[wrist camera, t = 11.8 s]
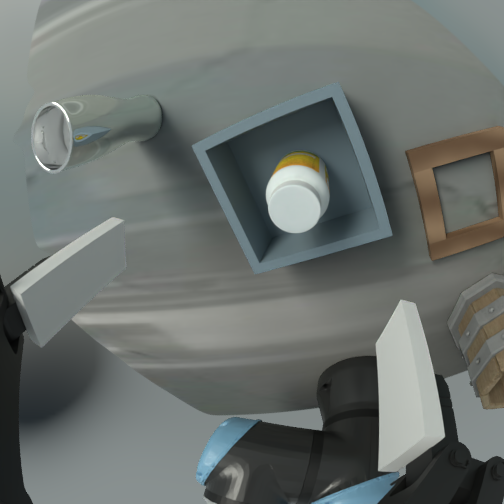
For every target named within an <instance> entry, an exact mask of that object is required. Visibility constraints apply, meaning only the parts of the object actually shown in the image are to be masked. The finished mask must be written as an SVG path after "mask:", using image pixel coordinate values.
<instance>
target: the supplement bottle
mask: <svg viewBox="0 0 504 504" xmlns="http://www.w3.org/2000/svg"><path fill="white" fill-rule="evenodd" d="M329 198H330V193H329V177H328V170H327V167H326V165H325V163H324V161H323V160H322V159H321V158H320V157H319V156H318V155H316V154H315V153H313V152H310V151H305V150H296V151H292V152H290V153H288V154H286V155H285V156H284V157H283V158H282V159H281V160H280V162H279V163H278V165H277V167H276V169H275V171H274V173H273V175H272V177H271V179H270V180H269V182H268V185H267V189H266V200H267V204H268V211H269V215H270V218H271V220H272V221H273V223H274V224H275V225H276V226H277V227H278V228H280V229H281V230H283V231H286V232H289V233H303V232H306V231H308V230H310V229H311V228H313V227H314V226H315V225H316V223H317V222H318V220H319V218H321V216H322V215H323V214H324V213H325V211H326V209H327V207H328V204H329Z"/></svg>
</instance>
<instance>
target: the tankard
mask: <svg viewBox="0 0 504 504" xmlns="http://www.w3.org/2000/svg"><path fill="white" fill-rule="evenodd" d="M447 324H448V327H449V329H450V332H451V334H452V336H453V339H454V341H455V344H456V346H457V348H458V349H461V350H462V353H463V355H462V359H465V361H466V363H467V366H468V368H467V369H468V372H469V376H470V379H471V382H470V385H471V386H473V388H474V391H475V395H476V397H480V398H481V402H482V406H483V408H484V409H497V408H504V276H503V275H499V274H494V273H491V274H489V275H488V276H486V277H485V278H483V279H482V280H480V281H479V282H477V283H476V284H474V285H473V286H471V287H470V288H468V289H466V290H465V291H463V292H462V293H461V295H460V297H459V299H458V301H457V303H456V305H455V307H454V310H453V312H452V314H451V316H450V317H449V319H448V321H447Z"/></svg>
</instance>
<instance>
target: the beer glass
mask: <svg viewBox="0 0 504 504" xmlns="http://www.w3.org/2000/svg"><path fill="white" fill-rule="evenodd" d="M161 123H162V111H161V107H160V105H159V103H158V102H157V101H156V100H155V99H154V98H153V97H151V96H148V95H137V96H134V97H131V98H128V99H120V98H115V97H109V96H102V95H81V96H75V97H70V98H65V99H61V100H58V101H54V102H48V103H46V104H44V105H43V106H42V107H41V108H40V109H39V110H38V112H37V113H36V115H35V118H34V121H33V124H32V130H31V142H32V148H33V152H34V155H35V158H36V160H37V162H38V163H39V165H40V166H41V167H42V168H43V169H44V170H45V171H47V172H49V173H53V174H54V173H59V172H61V171H64V170H68V169H71V168H75V167H79V166H82V165H85V164H88V163H90V162H93V161H95V160H98V159H100V158H102V157H103V156H105V155H107V154H109V153H111V152H112V151H114V150H116V149H117V148H119V147H120V146H122V145H124V144H126V143H128V142H131V141H146V140H149V139H151V138H152V137H154V136H155V135H156V134H157V132H158V131H159V129H160V126H161Z"/></svg>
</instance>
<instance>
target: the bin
mask: <svg viewBox="0 0 504 504" xmlns="http://www.w3.org/2000/svg"><path fill="white" fill-rule="evenodd" d="M192 148H193V150H194V152H195V154H196V156H197V158H198V160H199V162H200V164H201V166H202V168H203V170H204V173H205V175H206V177H207V179H208V181H209V183H210V185H211V187H212V189H213V191H214V193H215V195H216V197H217V199H218V201H219V203H220V205H221V207H222V209H223V211H224V213H225V215H226V217H227V219H228V221H229V223H230V225H231V227H232V229H233V231H234V233H235V235H236V237H237V239H238V241H239V243H240V246H241V248H242V250H243V252H244V254H245V256H246V258H247V260H248V262H249V264H250V266H251V268H252V270H253V272H254V274H258V273H262V272H266V271H270V270H273V269H277V268H281V267H284V266H288V265H292V264H295V263H299V262H302V261H306V260H310V259H313V258H317V257H320V256H324V255H327V254H331V253H334V252H338V251H341V250H345V249H348V248H352V247H355V246H359V245H362V244H366V243H369V242H373V241H376V240H379V239H383V238H386V237H390V236H393V235H392V231H391V227H390V223H389V219H388V216H387V212H386V209H385V205H384V202H383V198H382V195H381V192H380V188H379V185H378V182H377V179H376V176H375V173H374V170H373V167H372V164H371V161H370V158H369V155H368V152H367V150H366V147H365V144H364V142H363V139H362V136H361V134H360V131H359V128H358V126H357V123H356V121H355V118H354V116H353V114H352V111H351V109H350V106H349V104H348V102H347V100H346V97H345V95H344V93H343V91H342V88H341V86H340V84H339V82H336V83H333V84H330V85H328V86H325V87H322V88H319V89H316V90H314V91H311V92H308V93H306V94H303V95H301V96H298V97H295V98H293V99H290V100H288V101H285V102H283V103H281V104H278V105H276V106H273V107H271V108H269V109H266V110H264V111H262V112H260V113H257V114H255V115H253V116H251V117H248V118H246V119H244V120H242V121H240V122H238V123H236V124H233V125H231V126H229V127H227V128H225V129H223V130H221V131H219V132H217V133H215V134H213V135H211V136H209V137H207V138H205V139H203V140H202V141H200V142H198V143H196V144H194V145H192ZM296 150H305V151H310V152H313V153H315V154H316V155H318V156H319V157H320V158H321V159H322V160H323V161H324V163H325V165H326V167H327V170H328V177H329V193H330V198H329V204H328V207H327V209H326V211H325V213H324V214H323V215H322V216H321V218H319V220H318V222H317V223H316V225H315V226H314V227H313V228H311V229H310V230H308V231H306V232H303V233H289V232H286V231H283V230H281V229H280V228H278V227H277V226H276V225H275V224H274V223H273V221H272V220H271V218H270V215H269V211H268V204H267V200H266V189H267V185H268V182H269V180H270V179H271V177H272V175H273V173H274V171H275V169H276V167H277V165H278V163H279V162H280V160H281V159H282V158H283V157H284V156H285V155H286V154H288V153H290V152H292V151H296Z"/></svg>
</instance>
